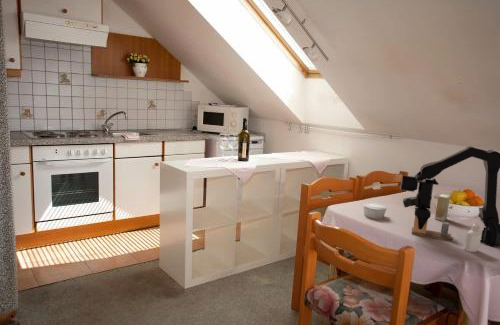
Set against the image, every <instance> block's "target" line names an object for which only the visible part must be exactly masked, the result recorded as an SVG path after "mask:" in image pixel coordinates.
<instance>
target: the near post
mask: <svg viewBox="0 0 500 325" xmlns="http://www.w3.org/2000/svg"><path fill="white" fill-rule="evenodd" d="M449 227H450V223H449V222H446V221H441V228H440V232H441V233H440V234H441V236H446V237H447V235H448V234H449Z"/></svg>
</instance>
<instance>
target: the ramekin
mask: <svg viewBox="0 0 500 325" xmlns="http://www.w3.org/2000/svg"><path fill="white" fill-rule="evenodd" d="M362 206H363V215H364V216H365V217H368V218H370V219H376V218H377V219H383V218H384V217H385V214H386V211H387V206H386V205H384V204H382V203H377V202H376V203H375V202H364V203H363V205H362ZM377 219H376V220H377Z"/></svg>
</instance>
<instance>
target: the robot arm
mask: <svg viewBox="0 0 500 325" xmlns="http://www.w3.org/2000/svg"><path fill="white" fill-rule="evenodd" d="M471 158H475V159H479V160H481V161H483V166H484V169H485V181H484V182H485V184H484V203H483V206H482V207H478V211H479V213H478V216H477V217H479V219H480V221H481V223H483V226H484V227H483V229H482V231H481V240H480V243H483V244H485V245H487V246H489V247H500V218H499V212H498V209H497V190H498V173H499V171H500V152H499V151H496V150H494V149H487V150H485V149H481V148H476V147H474V146H467V147H466V148H463V149H461V150H458V151H457V152H455V153H453V154H451V155H448V156H447V157H445V158H442V159H440V160H438V161H437V160H436V161H431V162H429V163H428V162H427V163H425V164H423V165H422V166H421V167H420V169H419V171H418V172H417V173H415V175H413V176H412V175H407V174H402V177H401V180H400V186H399V187H400V188H399V190H400V191H403V192H404V191H405V192H412V193H414V192H415V191H417V193H416V195H415V196H411V197H405V198H404V197H403V199H402V203H403V207H404V208H408V207H414V217H415V216H416V217H417V218H418V226H419V229H422V228H423V226H424V225H425V223H426V222H427V223H428V221H427V220H429V219H431V215H432V212H431V210H430V209H431V205H432V204H431V203H432V197H433V190H434V185H436V186H437V185H439V182H438V181H437V180H436V178H435V177H437V176H438V175H440V174H441V173H442V172H443V171H444V170H446V169H448V168H450V167H453V166H455V165H458V164H459V163H461V162H463V161H465V160H468V159H471Z"/></svg>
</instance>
